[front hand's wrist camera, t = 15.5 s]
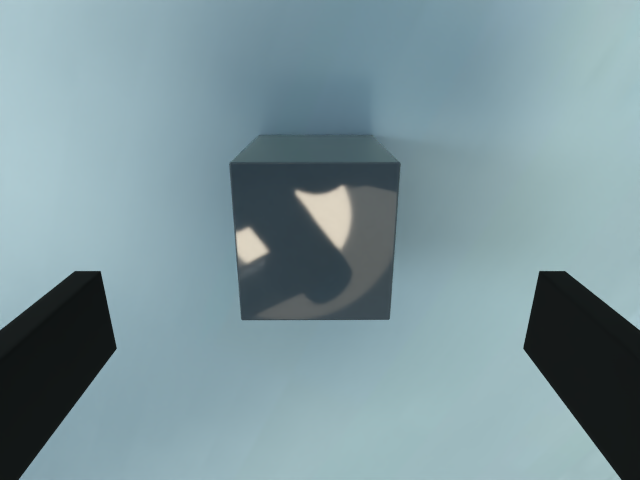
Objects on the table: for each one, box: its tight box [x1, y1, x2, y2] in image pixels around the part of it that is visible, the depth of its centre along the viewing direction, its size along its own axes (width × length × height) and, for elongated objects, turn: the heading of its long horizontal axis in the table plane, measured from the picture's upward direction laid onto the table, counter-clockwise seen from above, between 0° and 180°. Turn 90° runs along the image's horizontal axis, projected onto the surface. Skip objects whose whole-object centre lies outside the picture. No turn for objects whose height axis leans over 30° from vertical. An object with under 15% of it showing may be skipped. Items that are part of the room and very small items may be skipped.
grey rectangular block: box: [229, 135, 400, 320], centre depth 22 cm, size 7×7×9 cm
